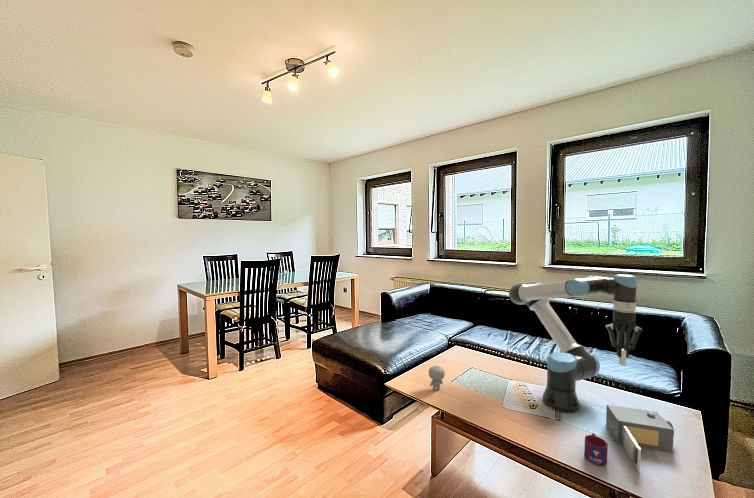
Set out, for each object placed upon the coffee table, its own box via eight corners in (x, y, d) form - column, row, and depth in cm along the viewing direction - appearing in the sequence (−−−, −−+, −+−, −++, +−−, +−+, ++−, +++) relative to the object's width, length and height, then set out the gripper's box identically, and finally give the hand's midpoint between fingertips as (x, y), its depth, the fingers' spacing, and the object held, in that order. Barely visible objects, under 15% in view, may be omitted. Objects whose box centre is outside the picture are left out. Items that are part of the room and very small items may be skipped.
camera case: (617, 443, 119) (618, 418, 119) (606, 424, 131) (606, 402, 130) (681, 455, 113) (682, 428, 113) (663, 434, 125) (664, 410, 124)
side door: (620, 443, 119) (620, 424, 119) (624, 444, 118) (625, 425, 118) (635, 469, 106) (636, 448, 105) (640, 470, 105) (641, 449, 105)
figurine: (439, 385, 166) (439, 363, 166) (446, 391, 159) (447, 369, 158) (426, 387, 164) (426, 365, 163) (433, 394, 156) (433, 371, 156)
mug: (584, 460, 111) (584, 442, 110) (584, 445, 119) (585, 428, 118) (607, 469, 107) (608, 450, 106) (606, 452, 115) (606, 434, 115)
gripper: (609, 311, 131) (607, 365, 132) (647, 314, 127) (645, 370, 128) (603, 307, 138) (601, 359, 140) (638, 309, 134) (636, 363, 135)
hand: (622, 364), depth 134 cm, fingers closed
